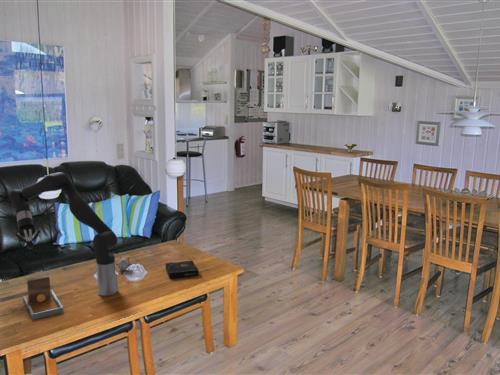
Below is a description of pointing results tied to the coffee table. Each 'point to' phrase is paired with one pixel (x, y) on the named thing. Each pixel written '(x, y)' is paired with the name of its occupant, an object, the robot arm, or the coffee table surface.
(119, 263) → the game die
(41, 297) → the ball
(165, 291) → the coffee table surface
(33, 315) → the blue-grey rectangular frame
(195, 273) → the portable cd player
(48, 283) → the board
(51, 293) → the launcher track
